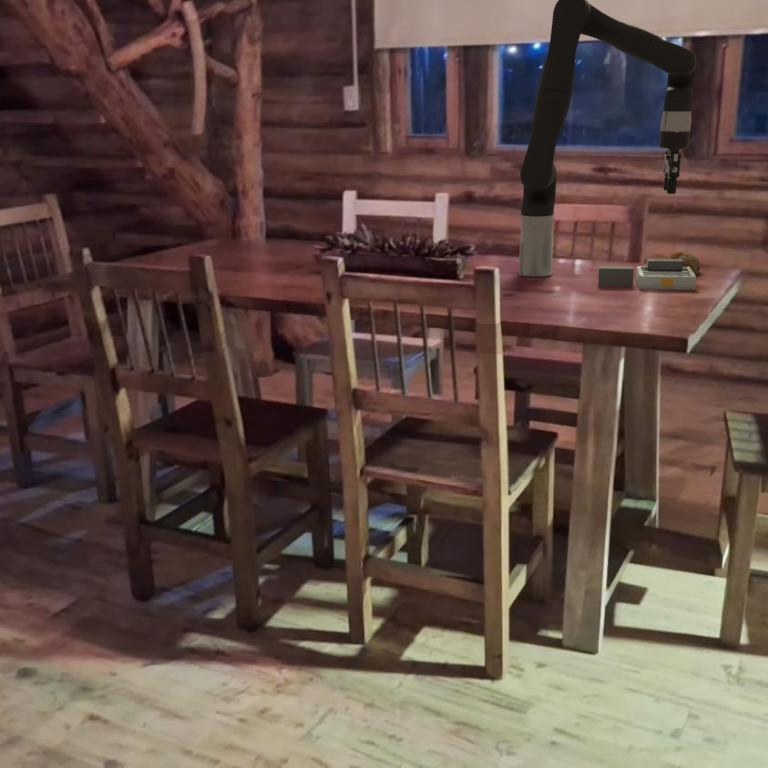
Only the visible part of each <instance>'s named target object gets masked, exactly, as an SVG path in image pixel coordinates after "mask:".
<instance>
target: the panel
mask: <svg viewBox="0 0 768 768" xmlns="http://www.w3.org/2000/svg"><path fill="white" fill-rule="evenodd" d="M634 271H635V268H634V266H633V265H632V266H631V265H629V266H627V265H598V275H597V287H608V286H619V287H620V286H622V287H623V286H629V287H628V288H633V287H634V276H635V275H634ZM632 286H633V287H632ZM619 287H618V288H619ZM620 288H621V287H620Z"/></svg>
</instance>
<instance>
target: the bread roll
mask: <svg viewBox="0 0 768 768" xmlns="http://www.w3.org/2000/svg"><path fill="white" fill-rule="evenodd" d="M666 259H682V260H683V267H690V268H691V270H692V271H693V273H694V274H695V275H699V274H700V268H701V267H700V260H699V258H698V257H697V256H696V255H695V254H693V253H691V252H688V251H681V250H680V251H677V252H674V253H672V254H670V255H669V256H667V258H666Z"/></svg>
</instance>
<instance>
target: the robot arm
mask: <svg viewBox="0 0 768 768" xmlns="http://www.w3.org/2000/svg"><path fill="white" fill-rule="evenodd" d="M582 35H583V36H587V37H591V38H593V39H596V40H599V41H601V42H603V43H605V44H607V45H609V46H611V47H613V48H614V49H616V50H617V51H620V52H622V53H624V54H626V55H627V56H630V57H632V58H634V59H636V60H637V61H641V62H642V63H645V64H648V65H651V66H654V67H656V68H657V69H660V70H661V71H663V72H665V73H667V86H666V87H667V88H666V91H665V94H664V98H663V99H664V100H663V112H662V116H661V121H660V130H659V131H660V132H659V133H660V135H659V142H658V143H659V144H658V147H659V148H660V149H667V150H665V152H664V158H663V160H664V163H663V176H664V180H663V191H666V193H667V194H668V195H675V194H676V193H677V185H678V180H679V178H680V171H681V161H682V154H681V153H680V149H681V150H684V149H688V148H689V146H690V139H691V136H690V135H691V127H692V106H693V97H694V96H693V94H694V93H693V89H694V85H695V84H694V83H695V78H696V71H697V60H698V59H697V57H696V54H695V53H694V52H693V51H692V50H690V49H689V48H686V47H684V46H681V45H679V44H676V43H673V42H671V41H668V40H665V39H664V38H662V37H660V36H659V35H657V34H655V33H652V32H650V31H648V30H647V29H644V28H641V27H639V26H636V25H634V24H631V23H627V22H625V21H623V20H622V21H621V20H619V19H616V18H614V17H613V16H610V15H608V14H607V13H605V12H602V11H601V10H600V9H598V8H596V7H595V6H594V5H592V4H591V3H590V2H589V1H588V0H557V2H556V3H555V4H554V8H553V11H552V21H551V29H550V40H549V45H548V51H547V55H546V58H545V62H544V63H543V64H544V65H543V69H542V72H541V77H540V82H539V85H538V90H537V93H536V99H535V105H534V110H533V116H532V117H533V118H532V124H531V125H532V126H531V132H530V138H529V142H528V146H527V149H526V152H525V155H524V159H523V162H522V164H521V168H520V173H519V177H520V181H521V184H522V186H523V192H522V193H523V194H522V202H521V205H520V242H519V265H518V266H519V268H518V269H519V270H518V271H519V273H518V275H519V276H522V277H523V276H524V277H533V278H535V277H536V278H539V277H542V278H543V277H549V276H552V274H553V249H554V247H553V246H554V245H553V243H554V238H553V237H554V217H555V216H554V213H555V204H556V194H557V193H556V192H557V191H556V190H557V168H556V165H555V163H554V160H555V153H556V152H555V151H556V148H557V146H556V145H557V142H558V140H559V137H560V134H561V132H562V130H563V127H564V124H565V121H566V120H567V115H568V112H569V110H570V106H571V101H572V97H573V92H574V85H575V78H576V76H575V73H576V53H577V48H578V44H579V41H580V37H581V36H582Z"/></svg>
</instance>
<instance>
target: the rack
mask: <svg viewBox="0 0 768 768" xmlns="http://www.w3.org/2000/svg"><path fill="white" fill-rule="evenodd" d="M635 279H637V280H636V283H637V285H638V290H652V291H653V290H655V291H656V290H657V291H659V290H660V291H662V290H663V291H696V282H697V275H696V274H694V273H693V271H692V270H691V268H690V267H683V260H682V259H667V258H646V266H645V265H642V266H640V265H639V266H636V276H635Z"/></svg>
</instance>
